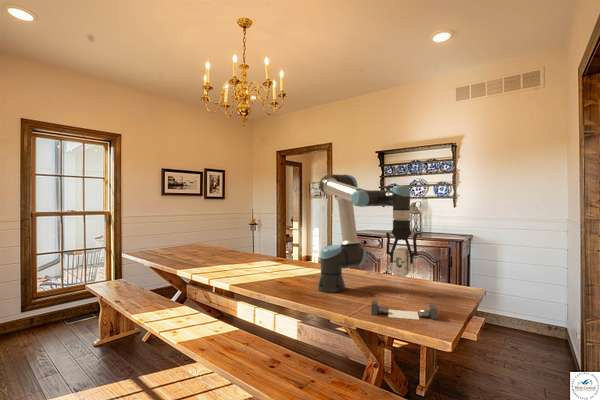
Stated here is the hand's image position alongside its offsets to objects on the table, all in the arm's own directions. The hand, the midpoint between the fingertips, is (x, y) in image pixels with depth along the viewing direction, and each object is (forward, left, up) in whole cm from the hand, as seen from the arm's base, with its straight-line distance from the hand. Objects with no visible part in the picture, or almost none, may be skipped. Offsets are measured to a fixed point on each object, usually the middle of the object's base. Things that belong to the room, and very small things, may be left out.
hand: (401, 270), depth 144 cm
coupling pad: (0, -11, -17) cm, 20 cm away
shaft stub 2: (+10, -11, -17) cm, 22 cm away
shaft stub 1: (-9, -11, -17) cm, 22 cm away
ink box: (0, 0, -2) cm, 2 cm away
